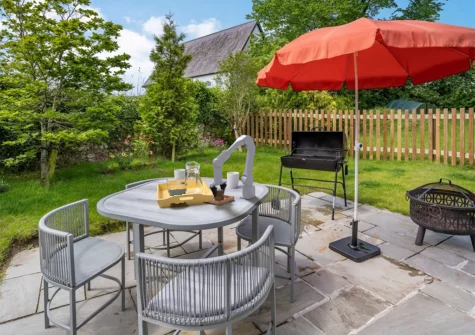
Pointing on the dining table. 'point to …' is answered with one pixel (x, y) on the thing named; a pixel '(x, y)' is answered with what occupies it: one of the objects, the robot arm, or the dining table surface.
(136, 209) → the dining table surface
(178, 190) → the food container
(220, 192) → the walnut block
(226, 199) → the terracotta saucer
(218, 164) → the robot arm
